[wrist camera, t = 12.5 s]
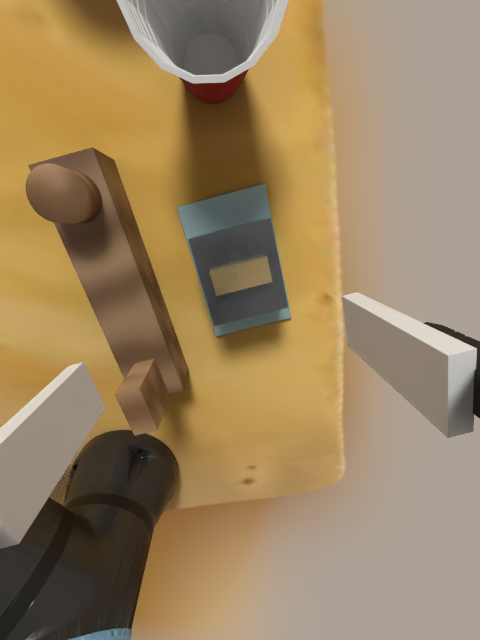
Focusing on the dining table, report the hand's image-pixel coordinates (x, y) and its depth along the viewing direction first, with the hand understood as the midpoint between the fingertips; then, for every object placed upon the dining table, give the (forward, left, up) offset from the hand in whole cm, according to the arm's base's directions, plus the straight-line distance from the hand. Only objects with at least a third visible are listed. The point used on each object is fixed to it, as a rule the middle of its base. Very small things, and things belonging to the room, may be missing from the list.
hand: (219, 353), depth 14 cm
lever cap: (+1, -2, -21) cm, 21 cm away
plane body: (+2, +11, -21) cm, 24 cm away
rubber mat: (+1, -2, -21) cm, 21 cm away
